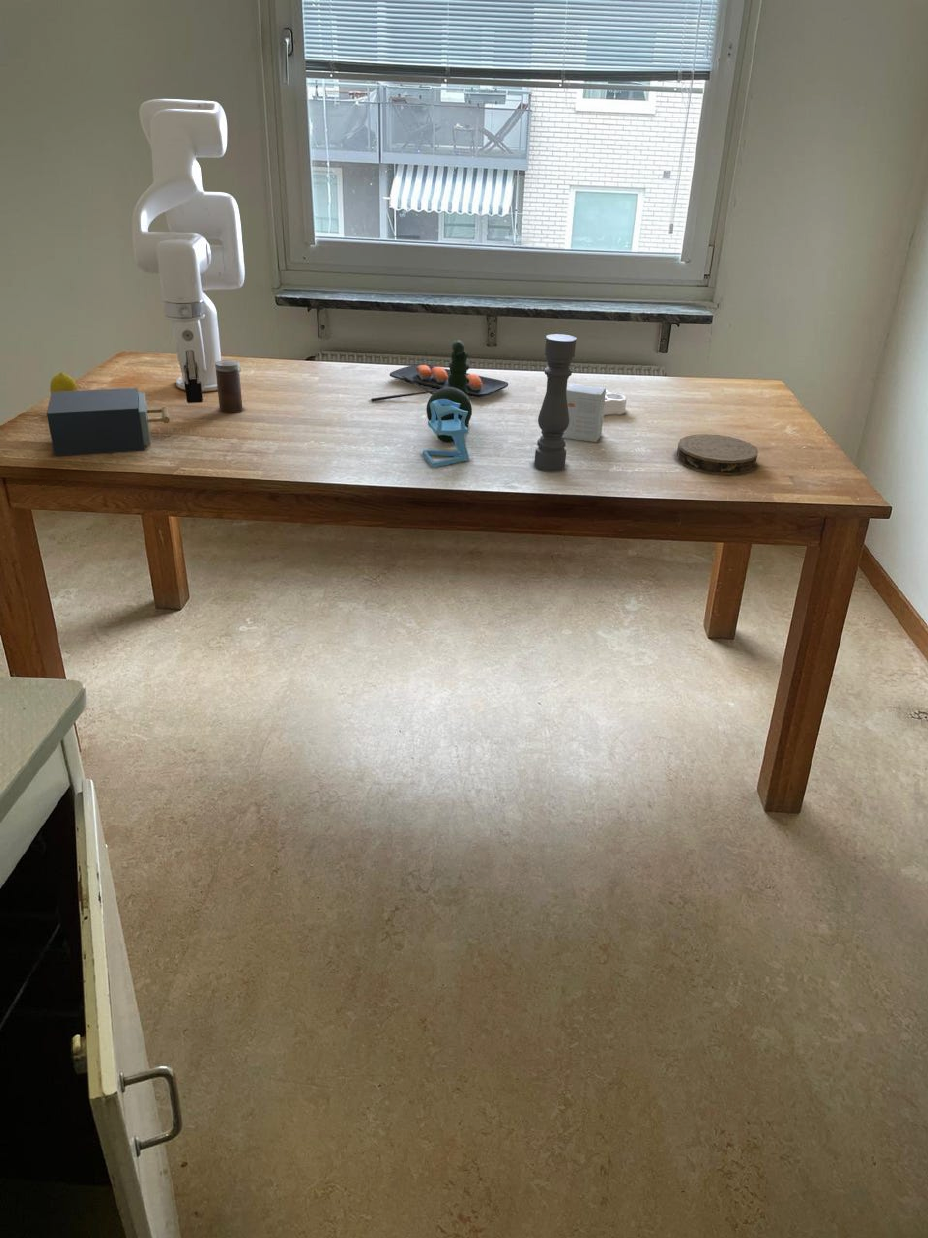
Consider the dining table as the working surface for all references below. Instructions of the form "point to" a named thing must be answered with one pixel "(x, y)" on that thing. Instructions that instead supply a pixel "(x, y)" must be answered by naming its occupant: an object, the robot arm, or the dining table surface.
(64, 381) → the lemon
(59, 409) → the cabinet
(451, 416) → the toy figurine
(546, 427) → the candle holder
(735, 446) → the tambourine
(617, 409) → the white brass knuckles
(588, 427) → the small box
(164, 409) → the drawer
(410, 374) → the sushi plate
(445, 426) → the chair
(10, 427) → the dining table surface
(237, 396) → the brown lidded jar
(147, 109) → the robot arm
